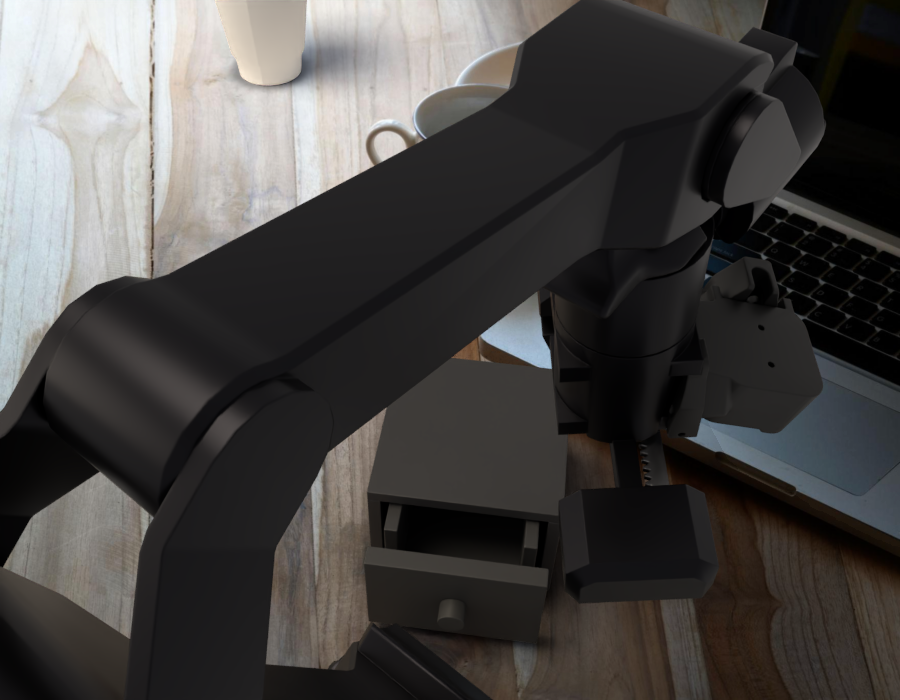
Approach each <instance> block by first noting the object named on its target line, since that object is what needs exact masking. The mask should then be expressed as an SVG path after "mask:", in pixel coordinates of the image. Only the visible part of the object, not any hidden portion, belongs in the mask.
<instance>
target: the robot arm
mask: <svg viewBox="0 0 900 700" xmlns="http://www.w3.org/2000/svg"><path fill="white" fill-rule="evenodd" d="M798 46H799V44H798V42H797V41H795V40H792V39H789V38H786V37H783V36H781V35H778V34H775V33H772V32H770V31H768V30H767V31H766V30H763V29H761V28H758V27H755V26H752V27H751V28H750V29H749V30H748V31H747V32H746V33H745V34H744V35H743V36H742V37H741V38H740V40H739V41H736V40H733V39H730V38H728V37H725V36H721V35H720V34H718V33H714V32H711V31H708V30H706V29H702V28H700V27H696V26H694V25H692V24H690V23H686V22H683V21H681V20H678V19H675V18H672V17H669V16H666V15H664V14H661V13H658V12H656V11H653V10H650V9H647V8H645V7H642V6H639V5H636V4H634V3H631V2H629V1H626V0H577V2H575V3H574V4H572V5H571V6H570V7H568V8H567V9H565V10H564V11H563V12H561V13H560V14H559V15H558V16H556V17H554V18H553V19H551V21H549V22H548V23H546V24H545V25H543V26H542V27H541V28H539V29H538V30H537V31H535V32H534V33H533V34H531V35H530V36H529V37H528V38H526V39H525V40H524V41H522V42H521V43H520V44H519V45H518V46H517V50H516V54H515V59H514V64H513V67H512V72H511V77H510V82H509V86H508V89H507V90H506V91H504V92H503V93H502V94H501V95H499V96H498V97H496V99H494V100H493V101H491V102H489V104H488V105H486V106H485V107H483V108H481V109H480V110H477V111H476V112H474V113H472V114H470V115H468V116H465V117H464V118H462V119H460V120H459V121H456V122H455V123H452V124H451V125H449V126H447V127H445V128H443V129H442V130H439V131H438V132H436V133H434V134H432V135H430V136H428V137H426V138H424V139H422V140H420V141H419V142H417V143H415V144H412V145H411V146H408V147H407V148H405V149H403V150H402V151H400V152H398V153H396V154H394V155H392V156H390V157H388V158H386V159H384V160H383V161H381V162H379V163H377V164H375V165H373V166H370V167H369V168H367V169H365V170H363V171H361V172H360V173H358V174H356V175H354V176H352V177H350V178H348V179H346V180H344V181H343V182H340V183H339V184H337V185H335V186H333V187H331V188H329V189H327V190H326V191H323V192H322V193H320V194H318V195H316V196H314V197H311V198H310V199H308V200H306V201H304V202H303V203H301V204H299V205H298V206H295V207H292V208H291V209H289V210H287V211H285V212H284V213H281V214H280V215H277V216H276V217H274V218H273V219H270V220H268V221H267V222H265V223H262V224H261V225H259V226H257V227H255V228H253V229H251V230H250V231H248V232H246V233H244V234H242V235H240V236H238V237H236V238H234V239H233V240H230V241H228V242H226V243H224V244H223V245H221V246H219V247H216V248H215V249H213V250H211V251H209V252H207V253H206V254H203V255H202V256H200V257H198V258H196V259H194V260H192V261H190V262H188V263H186V264H185V265H183V266H180V267H179V268H177V269H175V270H173V271H171V272H170V273H168V274H165V275H161V276H157V277H155V278H150V277H142V276H132V275H124V276H123V275H122V276H120V277H117V278H113V279H111V280H108V281H107V280H106V281H103V282H101V283H97V284H95V285H94V286H92V287H91V288H90V289H88V290H87V291H86V292H84V293H82V294H81V295H80V296H78V297H77V298H76V299H74V300H73V301H72V302H70V303H68V304H67V306H66V307H65V308H64V309H63V310H62V312H61V313H60V314H59V316H58V317H57V318H56V319H55V321H54V322H53V323H52V325H51V326H50V327H49V329H48V330H47V331H46V332H45V334H44V335H43V337H42V339H41V342H40V343H39V345H38V346H37V348H36V350H35V352H34V354H33V355H32V357H31V358H30V360H29V362H28V364H27V366H26V368H25V369H24V371H23V373H22V374H21V376H20V379H19V380H18V382H17V383H16V385H15V387H14V389H13V390H12V392H11V394H10V396H9V398H8V399H7V401H6V403H5V405H4V407H2V409H0V700H494V699H493V698H492V697H490V696H489V695H488V694H486V693H485V692H484V691H483V690H481V689H480V688H479V687H478V686H477V685H475V684H474V683H473V682H471V681H470V680H469V679H468V678H466V677H465V676H463V674H461V672H458V670H456V669H455V668H454V667H452V666H451V665H450V664H449V663H448V662H446V661H445V660H443V658H441V657H440V656H439V655H437V654H436V653H434V652H433V650H431V649H430V648H429V647H428V646H426V645H425V644H423V643H422V642H421V641H420V640H419V639H417V638H416V637H414V636H413V635H412V634H411V633H410V632H408V631H407V630H406V629H405V628H404V627H403V626H399V625H398V624H397V623H395V624H393V625H392V624H390V625H388V626H385V627H379V626H378V625H377V624H376V623H375V622H372V621H371V622H370V621H369V624H368V625H367V626H366V628H365V630H364V632H363V634H362V636H361V638H360V639H359V640H357V641H353V642H352V643H351V644H350V645H349V647H348V648H347V649H346V652H345V653H344V654H343V655H342V656H341V657H340V658H339V659H338V660H334V661H332V662H331V663H330V665H328V667H327V668H319V667H307V666H294V665H293V666H292V665H281V664H269V663H267V657H268V656H267V654H268V645H269V644H268V643H269V631H270V630H269V629H270V619H271V605H272V593H273V581H274V569H275V558H276V557H275V556H276V551H277V547H278V546H279V543H280V542H281V539H282V538H283V537H284V535H285V534H286V531H287V529H288V528H289V526H290V525H291V523H292V521H293V519H294V518H295V516H296V514H297V512H298V511H299V509H300V508H301V505H302V504H303V502H304V500H305V498H306V497H307V495H308V493H309V491H310V490H311V488H312V486H313V484H314V483H315V481H316V479H317V478H318V475H319V474H320V471H321V469H322V467H323V465H324V463H325V460H326V458H327V456H328V454H329V453H330V452H331V451H332V450H333V449H335V448H336V447H338V446H339V445H340V444H341V443H343V442H344V441H345V440H347V439H348V438H349V437H351V436H352V435H353V434H354V433H356V432H357V431H358V430H359V429H361V428H362V427H364V425H366V424H367V423H369V422H370V421H371V420H372V419H374V418H375V417H376V416H378V415H379V414H380V413H382V412H383V411H384V410H386V408H387V407H388V406H389V405H391V404H392V403H393V402H394V401H396V400H397V399H398V398H400V397H401V396H402V395H403V394H405V393H406V392H407V391H409V390H410V389H411V388H413V387H414V386H415V385H416V384H418V383H419V382H420V381H422V380H423V379H424V378H426V377H427V376H428V375H429V374H431V373H432V372H433V371H435V370H436V369H437V368H439V367H440V366H441V365H442V364H444V363H445V362H446V361H448V360H449V359H450V358H454V357H455V356H456V355H457V354H458V353H460V352H461V351H462V350H464V349H465V348H466V347H467V346H468V345H470V344H471V343H473V342H474V341H475V340H477V339H478V338H479V337H480V336H481V335H484V333H486V332H487V331H488V330H489V329H490V328H492V327H493V326H495V325H496V324H497V323H499V322H500V321H501V320H502V319H504V318H505V317H506V316H507V315H509V314H510V313H511V312H512V311H514V310H515V309H516V308H518V307H519V306H520V305H522V304H523V303H524V302H526V301H527V300H529V299H530V298H531V297H532V296H534V295H535V294H536V293H537V304H538V305H537V306H538V314H539V318H540V324H541V325H540V326H541V335H542V338H543V341H544V342H545V344H546V346H547V348H548V349H549V357H550V364H551V369H552V377H553V387H554V397H555V408H556V418H557V428H558V435H568V436H569V435H586V437H588V438H589V439H591V440H593V441H597V442H601V443H605V444H608V445H609V452H610V459H611V467H612V475H613V480H614V487H600V488H580V489H578V490H576V491H574V492H573V493H570V494H569V495H565V497H564V498H563V499H561V500H559V505H558V515H559V534H560V537H559V546H560V556H561V567H562V576H563V578H562V579H563V588H564V590H563V591H564V592H565V593H566V594H567V595H568V596H569V597H570V598H572V599H573V600H574V601H575V602H576V603H578V604H579V605H580V604H600V603H603V604H604V603H623V602H624V603H625V602H627V603H629V602H646V601H647V602H649V601H669V600H670V601H671V600H693V599H694V600H695V599H702V598H703V597H704V596H705V595H706V593H707V592H708V591H709V590H710V589H711V587H712V586H713V585H714V582H715V579H716V577H717V574H718V572H719V569H720V564H719V563H720V562H719V559H718V554H717V549H716V543H715V540H714V539H715V538H714V533H713V529H712V523H711V518H710V513H709V508H708V503H707V498H706V493H705V492H703V491H701V490H699V489H697V488H695V487H693V486H692V485H691V486H690V485H689V484H686V483H679V484H670V480H669V475H668V469H667V463H666V457H665V451H664V445H663V441H662V434H661V430H666V431H665V432H666V435H667V438H668V439H684V438H697V437H698V433H699V430H700V426H701V422H702V419H704V420H705V421H708V422H710V423H715V424H721V425H727V426H733V427H739V428H747V429H754V430H759V431H760V432H761V433H764V434H771V435H772V434H773V435H774V434H778V433H781V432H782V431H783V430H784V429H786V428H787V426H788V425H789V424H790V423H792V422H793V420H795V419H796V418H797V417H798V416H799V415H800V414H801V413H802V412H803V411H804V410H805V409H806V408H807V407H809V405H810V404H811V403H812V402H814V401H815V400H816V399H817V398H818V397H819V396H820V395H821V393H822V392H823V389H824V381H823V378H822V374H821V371H820V368H819V364H818V362H817V359H816V354H815V352H814V348H813V345H812V342H811V339H810V336H809V331H808V329H807V327H806V325H805V324H806V323H804V322H803V320H802V319H801V318H800V317H799V316H798V315H797V314H795V310H794V308H793V303H792V300H791V299H790V298H787V297H786V298H785V297H783V298H781V300H780V301H779V297H780V289H779V286H778V283H777V280H776V276H775V273H774V269H773V266H772V263H771V262H770V261H769V260H767V259H766V260H765V259H761V258H756V257H751V256H743V257H742V258H740V259H738V260H737V261H734V262H733V263H731V264H730V265H728V266H727V267H725V268H723V269H721V270H720V271H718V272H716V273H715V274H713V275H712V276H711V277H710V279H709V280H708V281H707V283H706V284H705V279H706V274H707V270H708V264H709V260H710V255H711V250H712V245H713V241H722V242H723V243H725V244H728V245H732V244H734V243H736V242H738V241H740V239H742V237H743V236H744V235H746V234H747V233H748V231H749V230H750V229H751V228H752V227H753V226H754V224H755V223H756V222H757V221H758V219H759V218H760V217H761V216H762V215H763V213H764V212H765V211H766V210H767V209H768V207H769V206H770V205H771V203H772V202H773V201H774V200H775V199H776V198H777V196H778V195H779V194H780V193H781V191H782V190H783V189H784V188H785V187H786V185H788V183H789V182H790V180H791V179H792V178H793V177H794V176H795V175H796V174H797V172H798V171H799V170H800V169H801V167H802V166H803V164H805V162H806V161H807V160H808V159H809V158H810V156H811V155H812V154H813V152H814V151H815V150H816V149H817V148H818V146H819V145H820V142H821V141H822V138H823V137H824V136H825V132H826V131H825V130H826V127H827V121H826V119H825V118H824V109H823V106H822V103H821V100H820V97H819V94H818V92H816V89H815V88H814V86H813V85H812V83H811V82H810V80H809V79H808V78H807V77H806V76H805V75H804V74H803V73H802V72H801V71H800V70H799V69H798V68H797V66H794V61H795V57H796V53H797V49H798ZM637 443H638V445H637ZM638 449H641V450H639V453H638ZM639 456H640V457H642V458H641V462H640V459H639ZM641 464H642V471H641V466H640V465H641ZM641 472H644V473H643V479H642V473H641ZM99 473H101V474H102V475H103V476H104V477H105V478H106V479H108V480H109V481H110V482H111V483H112V484H114V485H115V486H116V487H117V488H118V489H119V490H121V491H122V492H123V493H124V494H125V495H127V496H128V497H129V498H130V499H131V500H132V501H133V502H134V503H136V504H137V505H138V506H139V507H140V508H142V509H143V510H144V511H145V512H146V513H147V514H149V516H151V517H152V520H151V522H150V523H149V525H148V526H147V529H146V531H145V534H144V537H143V540H142V542H141V545H140V548H139V553H138V561H137V570H136V578H135V579H136V580H135V588H134V590H135V591H134V597H133V609H132V618H131V626H130V635H129V637H128V636H126V635H124V633H122V632H120V631H118V630H117V629H115V628H114V627H112V626H111V625H109V624H108V623H106V622H105V621H103V620H102V619H100V618H99V617H97V616H96V615H94V613H93V614H92V613H91V612H89V611H88V610H86V609H85V608H83V607H82V606H80V605H79V604H77V603H76V602H75V601H73V600H71V599H70V598H68V597H66V596H65V595H64V594H62V593H60V592H57V591H55V590H53V589H51V588H49V587H47V586H44V585H43V584H40V583H38V582H36V581H33V580H31V579H29V578H27V577H25V576H23V575H20V574H18V573H16V572H14V571H12V570H10V569H8V568H5V565H6V563H7V561H8V559H9V558H10V556H11V554H12V552H13V550H14V549H15V547H16V545H17V544H18V542H19V540H20V539H21V537H22V535H23V533H24V531H25V530H26V528H27V526H28V524H29V523H30V521H31V520H32V518H33V517H34V516H35V515H37V514H38V513H40V512H42V511H43V510H45V509H46V508H47V507H49V506H50V505H52V504H54V503H55V502H57V501H58V500H59V499H62V497H64V496H66V495H68V493H70V492H72V491H73V490H75V489H76V488H78V487H79V486H81V485H82V484H84V483H86V482H87V481H88V480H90V479H92V478H93V477H94V476H96V475H97V474H99ZM643 480H644V481H645V483H644V484H643Z"/></svg>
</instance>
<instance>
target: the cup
mask: <svg viewBox="0 0 900 700" xmlns="http://www.w3.org/2000/svg"><path fill="white" fill-rule="evenodd" d="M214 3H215V6H216V9H217V12H218V15H219V18H220V21H221V26H222V29H223V32H224V35H225V38H226V41H227V44H228V47H229V50H230V53H231V54H230V55H231V56H232V57H233V58H234V59H235V60H236V64H237V67H238V71H239V75H240V77H241V78H242V79H243V80H244V81H246V82H247V83H249V84H252V85H257V86H267V87H268V86H271V87H272V86H278V85H282V84H286V83H289V82H291V81H294V79H295V80H296V79H297V78H298V77H299V75H300V74H301V72H302V59H303V58H302V57H303V52H304V51H305V47H306V28H307V11H308V10H307V9H308V8H307V7H308V0H214Z"/></svg>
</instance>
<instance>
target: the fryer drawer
mask: <svg viewBox="0 0 900 700" xmlns="http://www.w3.org/2000/svg"><path fill="white" fill-rule="evenodd" d="M539 524H540V521H537V520H529V519H521V518H513V517H505V516H496V515H488V514H480V513H472V512H464V511H456V510H448V509H440V508H431V507H423V506H415V505H407V504H399V503H391V502H390V503H389V508H388V513H387V517H386V522H385V527H384V540H385V548H379V547H371V545H368V546H367V547H366V552H365V555H364V560H363V570H364V571H363V572H364V584H365V595H366V596H365V597H366V605H367V606H366V607H367V618H368V622H369V623H370V622H371V621H372V622H373V623H377V624H384V625H393V624H395V623H397V624H398V625H399V626H401V627H407V628H415V629H422V630H423V629H424V630H429V631H430V630H431V631H437V632H444V633H451V634H452V633H453V634H460V635H468V636H474V637H483V638H491V639H497V640H504V641H505V640H506V641H512V642H520V643H528V644H538V640H539V635H540V634H539V633H540V629H541V623H542V617H543V613H544V608H545V602H546V596H547V593H548V591H547V587H548V573H549V570H548V569H545V568H537V567H535V562H536V556H537V549H538V538H539Z"/></svg>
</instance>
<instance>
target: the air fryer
mask: <svg viewBox="0 0 900 700" xmlns="http://www.w3.org/2000/svg"><path fill="white" fill-rule="evenodd" d="M568 444H569V435H558V428H557V418H556V408H555V397H554V387H553V377H552V368H548V367H539V366H530V365H521V364H513V363H512V364H511V363H503V362H494V361H485V360H477V359H476V360H475V359H468V358H457V357H452V358H450V359H449V360H448V361H446V362H445V363H444V364H442V365H441V366H440V367H439V368H437V369H436V370H435V371H433V372H432V373H431V374H429V375H428V376H427V377H426V378H424V379H423V380H422V381H420V382H419V383H418V384H416V385H415V386H414V387H413V388H411V389H410V390H409V391H407V392H406V393H405V394H403V395H402V396H401V397H400V398H398V399H397V400H396V401H394V402H393V403H392V404H391V405H389V406H388V407H387V408H385V413H384V417H383V421H382V426H381V429H380V434H379V438H378V443H377V447H376V451H375V456H374V460H373V463H372V468H371V472H370V476H369V481H368V485H367V489H366V498H367V514H368V528H369V541H370V542H369V544H370V546H371V547H379V548H385V540H384V527H385V522H386V517H387V513H388V508H389V503H390V502H391V503H399V504H407V505H415V506H423V507H431V508H440V509H448V510H456V511H464V512H472V513H480V514H488V515H496V516H505V517H513V518H521V519H529V520H537V521H540V524H539V538H538V549H537V556H536V562H535V567H537V568H545V569H548V570H549V573H548V587H547V592H549V591H550V588H551V583H552V578H553V572H554V567H555V562H556V557H557V553H558V547H559V544H560V534H559V515H558V505H559V500H561V499H563V498H564V497H566V480H567V464H568V447H569V446H568Z"/></svg>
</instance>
